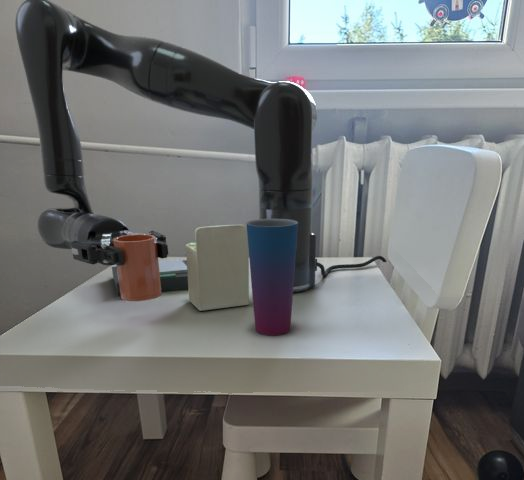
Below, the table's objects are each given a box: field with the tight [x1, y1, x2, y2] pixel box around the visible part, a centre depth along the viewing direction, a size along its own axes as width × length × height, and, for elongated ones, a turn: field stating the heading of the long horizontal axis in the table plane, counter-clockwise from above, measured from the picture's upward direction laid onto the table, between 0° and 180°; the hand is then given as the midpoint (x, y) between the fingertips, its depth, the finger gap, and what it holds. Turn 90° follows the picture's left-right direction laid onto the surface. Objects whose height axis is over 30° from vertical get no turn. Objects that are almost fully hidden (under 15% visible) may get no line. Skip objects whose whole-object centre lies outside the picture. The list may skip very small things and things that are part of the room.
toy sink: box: [185, 224, 250, 312], centre depth 81 cm, size 8×7×13 cm
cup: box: [245, 219, 298, 336], centre depth 68 cm, size 7×7×15 cm
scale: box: [111, 258, 188, 297], centre depth 95 cm, size 15×13×3 cm
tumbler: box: [113, 233, 162, 302], centre depth 72 cm, size 6×6×8 cm
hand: (143, 254), depth 70 cm, fingers closed on tumbler, 6 cm apart
